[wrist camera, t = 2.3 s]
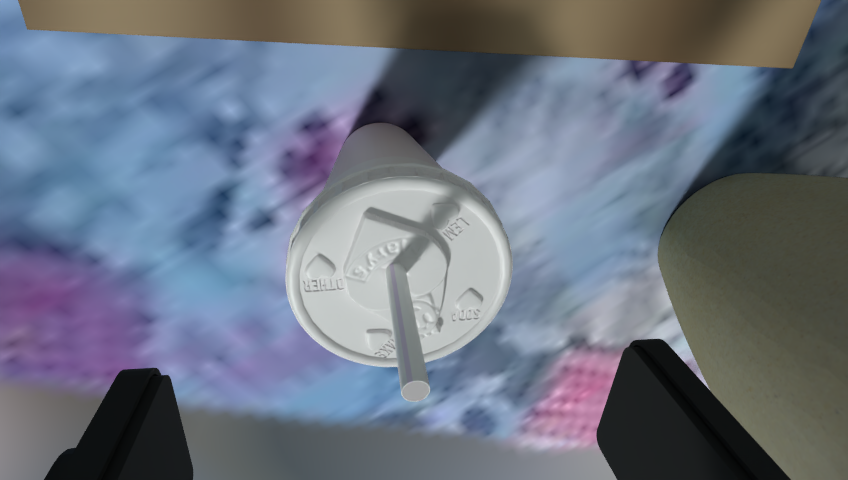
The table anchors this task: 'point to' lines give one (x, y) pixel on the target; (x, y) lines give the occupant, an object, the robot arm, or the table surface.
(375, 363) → the smoothie
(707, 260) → the plant pot
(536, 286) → the table surface
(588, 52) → the threshold bar
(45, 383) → the table surface
